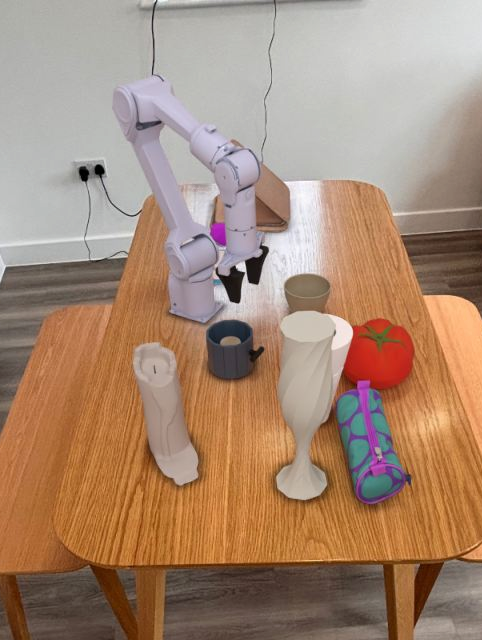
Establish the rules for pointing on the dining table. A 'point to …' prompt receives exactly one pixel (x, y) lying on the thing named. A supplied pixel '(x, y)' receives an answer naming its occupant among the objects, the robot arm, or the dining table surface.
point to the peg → (230, 341)
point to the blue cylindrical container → (231, 349)
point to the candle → (164, 412)
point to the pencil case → (369, 445)
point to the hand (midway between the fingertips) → (244, 292)
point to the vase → (305, 395)
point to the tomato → (379, 354)
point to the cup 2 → (339, 351)
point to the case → (263, 202)
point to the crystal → (218, 233)
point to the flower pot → (307, 292)
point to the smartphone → (215, 277)
